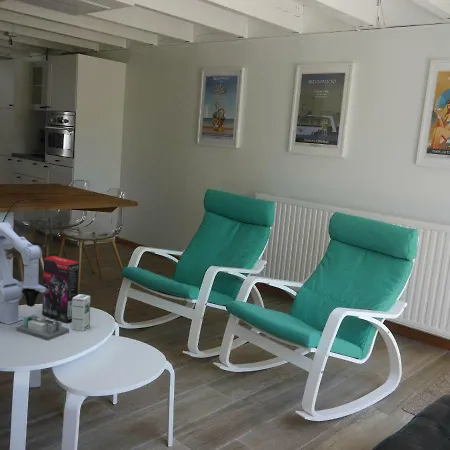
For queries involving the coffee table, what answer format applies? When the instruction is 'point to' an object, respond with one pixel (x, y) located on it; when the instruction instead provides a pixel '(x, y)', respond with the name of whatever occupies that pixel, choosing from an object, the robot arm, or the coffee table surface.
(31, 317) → the clamp strap
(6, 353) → the coffee table surface
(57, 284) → the graphics card box
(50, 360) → the coffee table surface
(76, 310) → the syrup box
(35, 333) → the clamp board
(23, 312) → the coffee table surface
